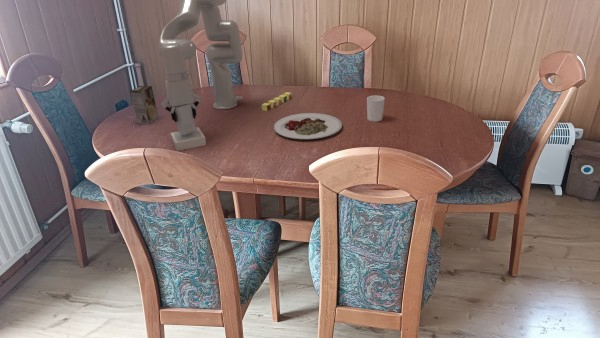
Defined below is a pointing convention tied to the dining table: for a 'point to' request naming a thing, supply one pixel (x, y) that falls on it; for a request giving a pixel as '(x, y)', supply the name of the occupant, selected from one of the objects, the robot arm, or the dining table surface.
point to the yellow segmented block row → (276, 101)
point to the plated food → (308, 126)
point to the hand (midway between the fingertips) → (184, 119)
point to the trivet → (188, 139)
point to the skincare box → (184, 119)
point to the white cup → (375, 108)
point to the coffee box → (144, 104)
